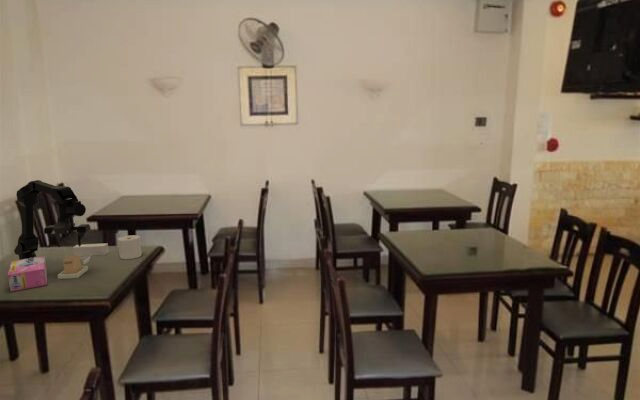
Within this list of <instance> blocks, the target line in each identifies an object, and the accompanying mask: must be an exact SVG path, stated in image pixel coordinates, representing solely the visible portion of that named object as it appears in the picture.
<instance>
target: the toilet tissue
mask: <svg viewBox="0 0 640 400" xmlns="http://www.w3.org/2000/svg"><path fill="white" fill-rule="evenodd" d="M117 242H118V243H117V245H118V251H119V252H118V253H119V259H120V260H133V259H137V258H140V257H141V256H142V253H143V252H142V244H141V236H140V235H137V234H136V235H134V234H133V235H124V236H121V235H119V236H118V237H117Z"/></svg>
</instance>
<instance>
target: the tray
mask: <svg viewBox="0 0 640 400" xmlns="http://www.w3.org/2000/svg"><path fill="white" fill-rule="evenodd" d="M81 269H82V270H81V271H79V272H78V273H77V274H65V271H64V270H62V271H61V272H60V273H58V274H57V280H66V279H70V280H71V279H79V278H80V277H82V275H84V274H86V272H88V271H89V266H88V265H81Z"/></svg>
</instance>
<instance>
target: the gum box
mask: <svg viewBox="0 0 640 400" xmlns="http://www.w3.org/2000/svg"><path fill="white" fill-rule="evenodd" d="M7 279H8V280H7V281H8V285H9V290H10V292H16V291H21V290H22V291H23V290H26V289H27V290H28V289H32V288H38V287H45V286H47V285H48V268H47V261H46V256H45V255H40V256H36V257H33V258H27V259H22V260H19V259H17V260H11V262H10V266H9V268H8V272H7Z"/></svg>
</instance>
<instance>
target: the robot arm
mask: <svg viewBox="0 0 640 400" xmlns="http://www.w3.org/2000/svg"><path fill="white" fill-rule="evenodd" d="M40 193H42V194H43V193H44V194H46V195H49V196H50V197H51V198H52V199H53V200H55V202H54V203H53V204H54V205H56V206H57V212H58V217H57V222H55V224H52V225H51V224H50V225H47V226H46V227H44V229H43V234H44V235H46V234H47V236H49V237H51V238H52V239H53V241H54V242H55V244H56V246H57V247H58V248H60V247H61V234H62V235H64V234H67V232H69V231H70V232H75V231H76V236H77V242H78V243H77V245H79V247H80V246H81V245H82V244H83V240H84V237H85V235H86V233H88V232H89V231H90V230H91V225H90V224H88V223H83V224H82V223H81V224H79V225H77V226H76V222H75V223H74V218H75V217H82V216H84V215H85V214H86V211H87V207H86V206H85V205H84V204H82V200H79V199H78V197H77V195H76V194H75V193H74V191H73V190H72V188H71V187H70V186H66V185H64V186H63V185H62V186H59V185H58V186H57V185H54V184H51V183H47V182H46V181H45V182H44V181H42V180H39V179H37V180H31V181H29V182H27V184H25V185H23V186H22V187H21V188H20V189H19V188H18V190H16V199H17V202H18V203H19V205H20V206H21V208H20V209H21V234H20V235H19V237H17V238H18V239H17V244H16V246H15V248H14V249H13V252H14V254H15V256H16V255H17V256H18V260H22V259H27V258H33V257H37V254H36V252H37V251H38V250H39V245H40V243H39V242H40V241H39V237H38V236H37V235H36V234H35V232H34V231H35V230H34V229H35V228H34V226H35V223H34V219H35V217H34V214H35V213H34V211H35V210H34V209H35V208H34V206H35V204H36V203H37V201H38V196H39V195H40Z"/></svg>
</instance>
